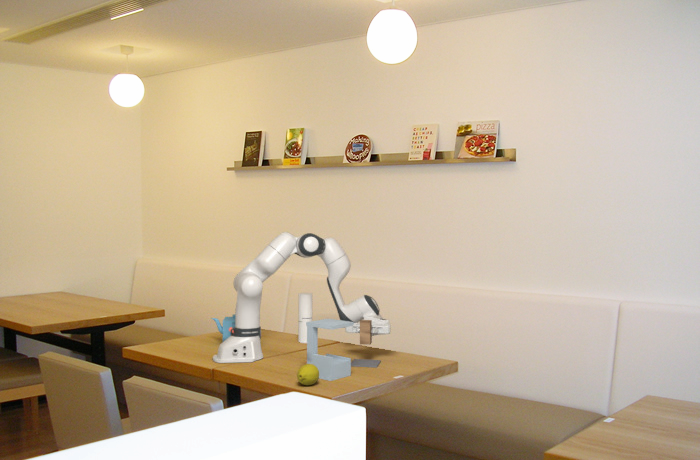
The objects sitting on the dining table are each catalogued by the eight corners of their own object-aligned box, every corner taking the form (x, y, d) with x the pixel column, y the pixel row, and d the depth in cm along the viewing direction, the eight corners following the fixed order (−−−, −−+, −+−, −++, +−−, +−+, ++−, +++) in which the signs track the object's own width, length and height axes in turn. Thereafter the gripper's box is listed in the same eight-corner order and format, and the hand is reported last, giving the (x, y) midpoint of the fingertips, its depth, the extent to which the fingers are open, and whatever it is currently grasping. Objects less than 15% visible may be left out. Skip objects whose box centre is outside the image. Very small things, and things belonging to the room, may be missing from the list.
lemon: (309, 380, 244) (309, 360, 244) (324, 384, 239) (324, 363, 239) (290, 386, 235) (290, 365, 235) (305, 389, 230) (305, 368, 230)
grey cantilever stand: (328, 369, 262) (328, 318, 262) (353, 375, 253) (353, 322, 253) (306, 375, 252) (306, 322, 252) (331, 381, 243) (331, 325, 243)
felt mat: (349, 366, 269) (349, 364, 269) (354, 360, 281) (354, 358, 281) (376, 367, 267) (376, 366, 267) (380, 361, 278) (380, 360, 278)
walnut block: (361, 342, 276) (361, 319, 276) (371, 342, 275) (371, 320, 275) (359, 344, 272) (359, 321, 272) (370, 344, 271) (369, 321, 271)
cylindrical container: (310, 343, 319) (310, 294, 319) (296, 342, 321) (296, 294, 321) (313, 340, 326) (313, 293, 326) (300, 340, 328) (300, 292, 328)
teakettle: (237, 338, 332) (237, 311, 332) (262, 342, 320) (261, 314, 320) (208, 344, 317) (208, 315, 317) (233, 348, 305) (233, 318, 305)
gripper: (348, 318, 288) (342, 323, 275) (392, 319, 284) (388, 324, 271) (348, 332, 288) (342, 337, 275) (392, 333, 284) (388, 339, 271)
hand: (365, 331), depth 273 cm, fingers closed on walnut block, 4 cm apart
